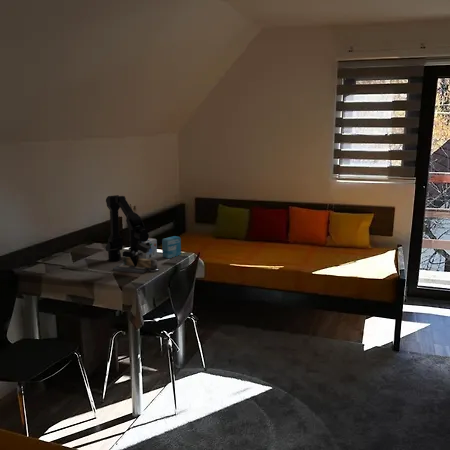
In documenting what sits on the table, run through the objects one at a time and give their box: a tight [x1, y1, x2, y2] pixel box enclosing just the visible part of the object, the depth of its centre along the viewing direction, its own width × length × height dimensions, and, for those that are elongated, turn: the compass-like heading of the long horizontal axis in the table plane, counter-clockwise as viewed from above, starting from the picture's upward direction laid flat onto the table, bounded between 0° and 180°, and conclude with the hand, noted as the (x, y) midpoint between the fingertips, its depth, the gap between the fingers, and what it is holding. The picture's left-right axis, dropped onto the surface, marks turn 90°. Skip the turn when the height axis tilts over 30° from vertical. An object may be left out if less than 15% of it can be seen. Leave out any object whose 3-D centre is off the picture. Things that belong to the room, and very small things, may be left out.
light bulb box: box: [139, 237, 158, 259], centre depth 299 cm, size 11×7×11 cm, turn 148°
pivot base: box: [148, 267, 160, 273], centre depth 271 cm, size 6×6×1 cm
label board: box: [112, 262, 149, 274], centre depth 275 cm, size 19×12×1 cm, turn 74°
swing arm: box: [123, 257, 158, 269], centre depth 274 cm, size 21×4×5 cm, turn 66°
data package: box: [161, 235, 182, 259], centre depth 300 cm, size 12×4×12 cm, turn 141°
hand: (135, 265), depth 272 cm, fingers closed
